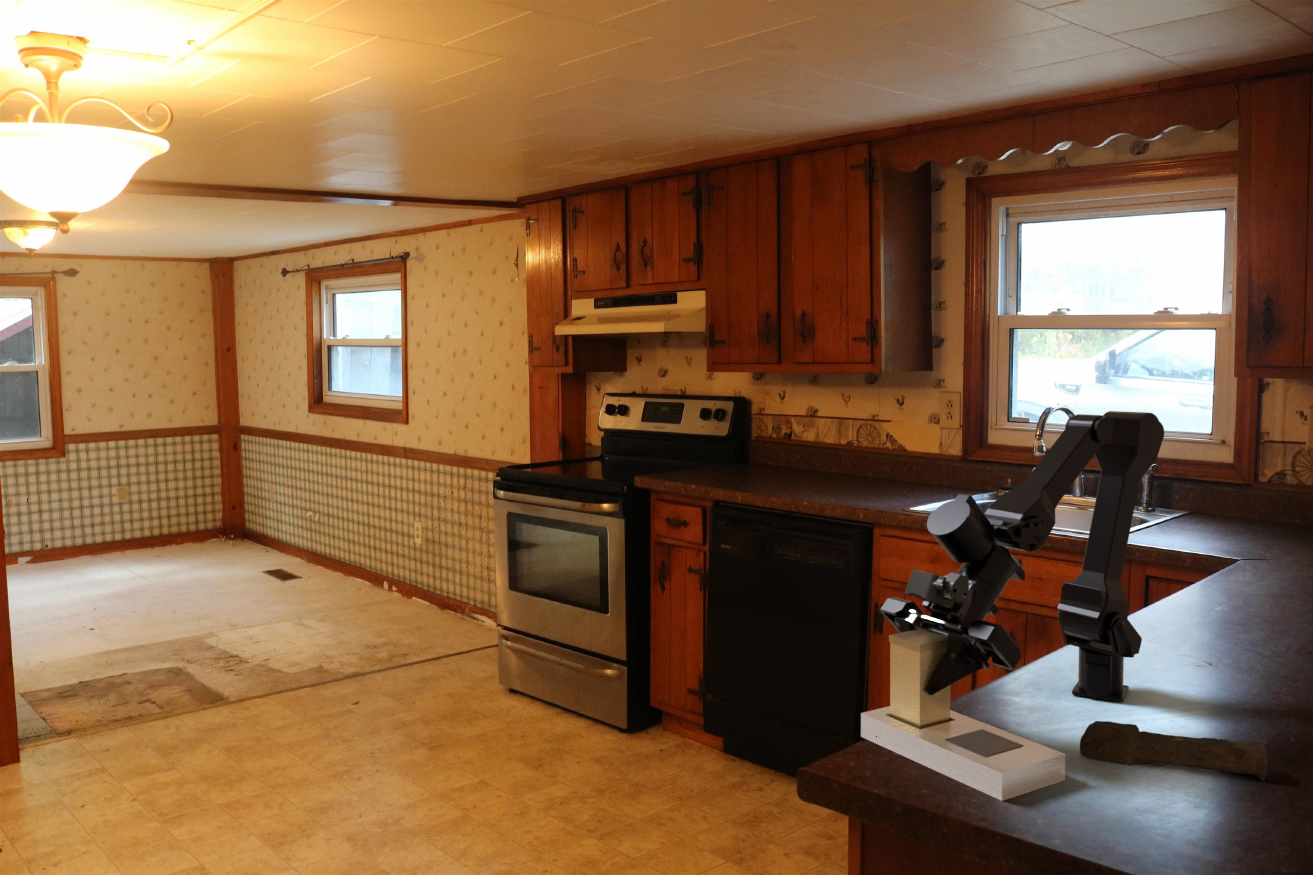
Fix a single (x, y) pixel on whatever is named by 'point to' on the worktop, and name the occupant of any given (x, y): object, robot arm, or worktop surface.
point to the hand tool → (1171, 749)
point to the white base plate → (970, 753)
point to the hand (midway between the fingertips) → (911, 686)
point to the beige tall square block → (917, 678)
